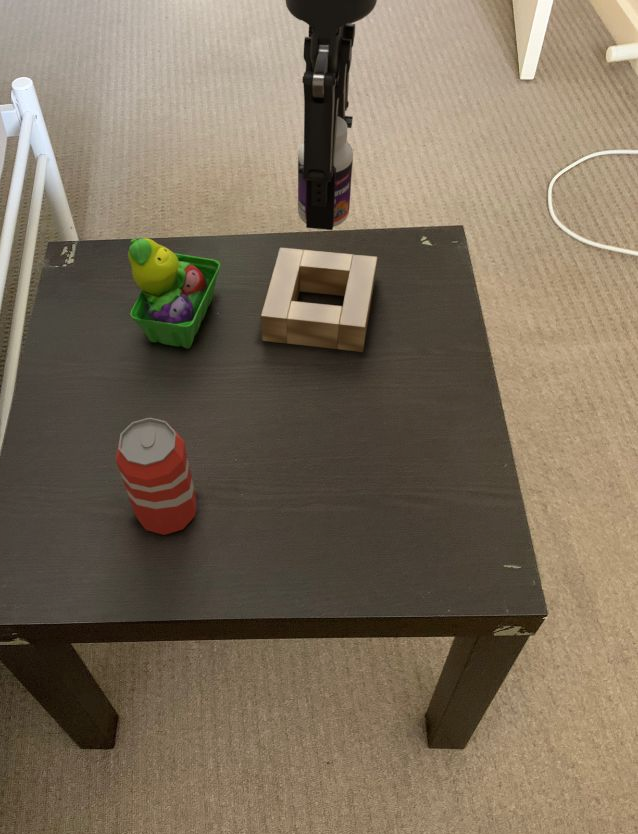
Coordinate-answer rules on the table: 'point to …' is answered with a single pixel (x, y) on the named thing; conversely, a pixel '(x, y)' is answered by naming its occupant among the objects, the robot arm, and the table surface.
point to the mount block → (319, 321)
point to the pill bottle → (343, 176)
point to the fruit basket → (170, 292)
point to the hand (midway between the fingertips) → (324, 207)
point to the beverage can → (156, 475)
